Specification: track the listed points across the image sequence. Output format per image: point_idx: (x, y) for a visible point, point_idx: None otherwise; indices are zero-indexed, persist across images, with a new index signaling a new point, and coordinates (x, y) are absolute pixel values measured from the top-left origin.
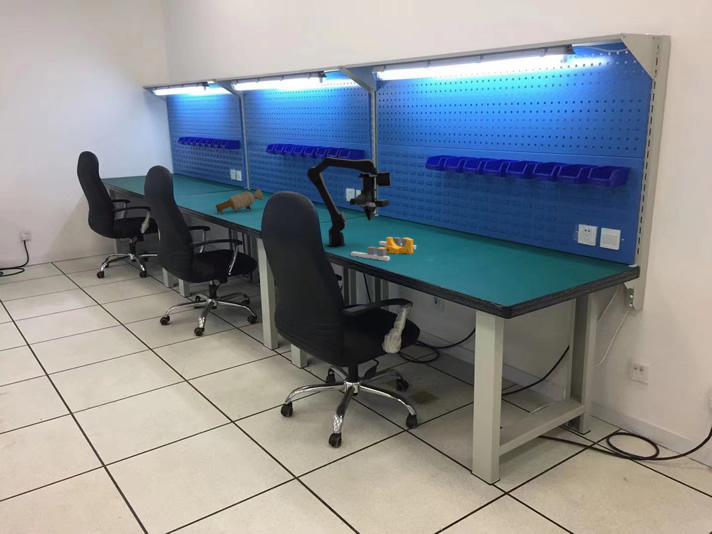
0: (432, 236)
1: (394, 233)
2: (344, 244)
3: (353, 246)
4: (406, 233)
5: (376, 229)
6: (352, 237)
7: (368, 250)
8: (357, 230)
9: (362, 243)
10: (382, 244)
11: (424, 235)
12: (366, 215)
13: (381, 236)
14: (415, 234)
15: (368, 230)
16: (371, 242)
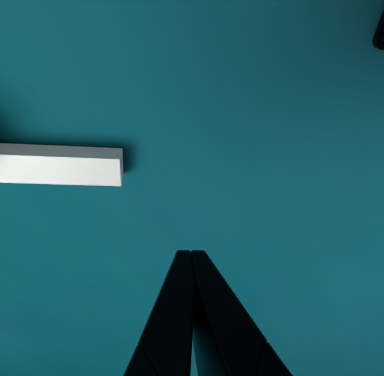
0: (8, 366)
1: (192, 349)
2: (380, 26)
3: (287, 24)
4: None
5: (298, 364)
6: (370, 237)
7: None
8: (376, 333)
9: (256, 141)
10: (90, 149)
11: (51, 366)
12: (241, 309)
13: None
14: (98, 364)
15: (326, 346)
16: (210, 186)
